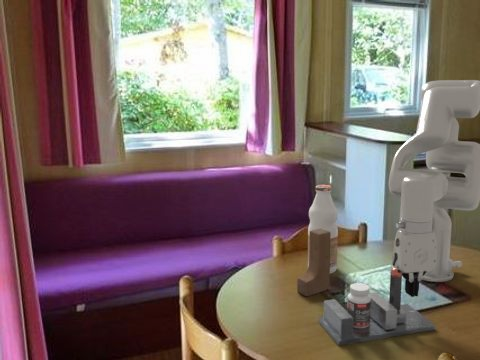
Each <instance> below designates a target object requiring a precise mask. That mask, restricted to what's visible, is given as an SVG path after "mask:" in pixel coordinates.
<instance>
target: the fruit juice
mask: <svg viewBox="0 0 480 360" xmlns="http://www.w3.org/2000/svg"><path fill="white" fill-rule="evenodd" d="M315 192H316V194H315V197H314V199H313V201H312V204H311V206H310V207H309V208H308V209H309V210H308V218H309V224H308V227H307V229H308V230H307V267H308V266H309V241H310V231H312V230H316V229H320V228H321V229H324V230H326V231H329V232H330V233H331V236H330V275H331V274H333V273H335V272H336V271H337V269H338V238H339V230H338V225H337V219H338V214H339V213H338V209H337V207H336V205H335V203H334V200H333V197H332V194H331V192H332V186H331V185H330V184H329V185H328V184H318V185H316V186H315Z"/></svg>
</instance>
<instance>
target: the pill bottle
mask: <svg viewBox="0 0 480 360" xmlns="http://www.w3.org/2000/svg"><path fill="white" fill-rule="evenodd" d="M368 293H371V292H370V286H369V285H368V284H365V283H362V282H361V283H360V282H356V283H352V284H350V285H349V293H348V295H347V299H346V300H347V301H346V305H347V306H346V311H347V312H348V313H349V314H350V315H351V316H352V317H353V327H354V328H366V327H368V326H369V324H370V310H371V297H370V295H369V294H368Z"/></svg>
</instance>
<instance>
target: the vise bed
mask: <svg viewBox="0 0 480 360" xmlns="http://www.w3.org/2000/svg"><path fill="white" fill-rule="evenodd" d="M400 308H401V309H402V310H403V311H404V312H406V313H407V314H406V322H403V323H397V324H396V328H395V329H388V330H385V329H384V328H383V327H381V326H380V325H379V324H378V323H377V322H376V321H375V320H374V319H373V318H372V317H371V316H370V324H369V326H368V327H366V328H354V327H353V317H352V316H351V315H350V314H349V313H348V312H347V309H345V307H343V305H341V304H340V302H338V301H337V300H336V299H333V298H332V299H326V300H323V316H319V317H318V320H317V321H318V323H319V324H320V326H321V327H322V328H323V329H324V330H325V331H326V333H327V334H328V335H329V336H330V337H331V339H332V340H333V341H334V342H335V343H336V345H338V347H340V346H345V345H346V346H347V345H352V344H357V343H358V344H359V343H362V342H370V341H375V340H381V339H389V338H393V337H398V336H405V335H411V334H416V333H418V334H419V333H422V332H429V331H435V330H436V325H435V324H434V323H433V322H432V321H431V320H429V318H427V317H425V316H424V315H423V314H422V313H420V312H419V311H417V310H416V309H415V307H414V308H413V307H412V306H411V305H410V304H409V303H404V304H401V305H400Z"/></svg>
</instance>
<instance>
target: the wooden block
mask: <svg viewBox="0 0 480 360" xmlns="http://www.w3.org/2000/svg"><path fill="white" fill-rule="evenodd" d="M330 236H331V233H330V232H329V231H326V230H324V229H321V228H320V229H316V230H312V231H310V241H309V266H308V265H307V270H306V271H305V272H304V274H302V275H300V276H298V277H297V281H296V282H297V284H296V285H297V292H298V293H299V294H301V295H303V296H304V297H310V296H313V295H316V294H319V293H322V292H325V291H328V290H330V283H331V281H330V280H331V279H330V278H331V276H330V275H331V274H330ZM327 289H328V290H327ZM324 290H325V291H324Z"/></svg>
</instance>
